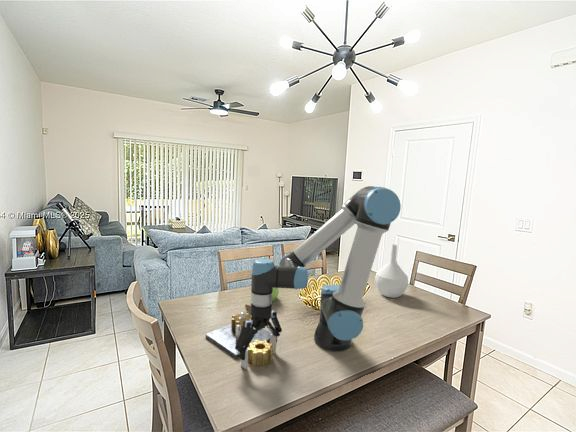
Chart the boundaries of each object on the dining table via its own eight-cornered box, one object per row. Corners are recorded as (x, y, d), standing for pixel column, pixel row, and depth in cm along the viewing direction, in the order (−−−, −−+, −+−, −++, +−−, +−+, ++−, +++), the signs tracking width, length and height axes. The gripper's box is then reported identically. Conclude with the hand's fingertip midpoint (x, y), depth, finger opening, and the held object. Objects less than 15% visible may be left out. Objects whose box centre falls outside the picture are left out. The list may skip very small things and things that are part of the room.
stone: (252, 321, 138) (252, 311, 138) (243, 311, 148) (244, 301, 148) (269, 317, 142) (270, 307, 142) (260, 308, 152) (260, 298, 152)
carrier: (275, 338, 124) (276, 319, 123) (236, 358, 109) (236, 336, 108) (244, 321, 137) (244, 303, 136) (205, 337, 123) (205, 317, 121)
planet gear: (277, 359, 110) (277, 346, 109) (258, 370, 103) (259, 356, 103) (260, 349, 116) (261, 337, 115) (242, 359, 109) (242, 346, 109)
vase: (369, 288, 186) (373, 241, 182) (397, 289, 188) (402, 241, 184) (381, 301, 168) (386, 248, 164) (412, 301, 170) (418, 249, 166)
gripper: (278, 291, 118) (276, 342, 121) (225, 309, 100) (223, 369, 103) (293, 297, 113) (289, 350, 116) (239, 317, 95) (237, 379, 98)
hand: (258, 359), depth 109 cm, fingers open, 13 cm apart
